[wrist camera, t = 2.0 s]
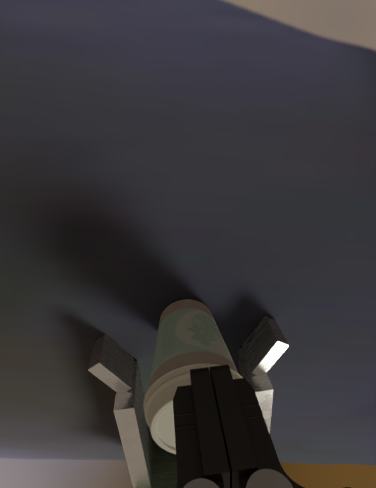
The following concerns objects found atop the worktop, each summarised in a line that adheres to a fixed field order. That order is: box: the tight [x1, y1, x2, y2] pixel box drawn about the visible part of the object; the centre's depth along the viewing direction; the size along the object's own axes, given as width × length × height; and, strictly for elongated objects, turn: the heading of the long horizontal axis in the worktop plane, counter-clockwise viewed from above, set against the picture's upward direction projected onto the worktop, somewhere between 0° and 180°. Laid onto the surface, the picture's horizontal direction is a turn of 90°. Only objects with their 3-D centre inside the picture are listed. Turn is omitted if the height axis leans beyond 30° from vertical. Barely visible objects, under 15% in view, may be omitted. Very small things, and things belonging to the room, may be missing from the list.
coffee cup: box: [143, 299, 243, 454], centre depth 28 cm, size 9×8×12 cm
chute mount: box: [88, 316, 289, 488], centre depth 34 cm, size 20×21×8 cm
